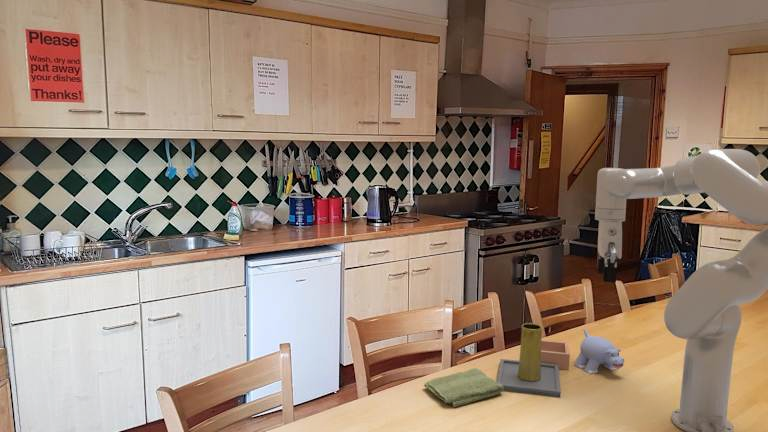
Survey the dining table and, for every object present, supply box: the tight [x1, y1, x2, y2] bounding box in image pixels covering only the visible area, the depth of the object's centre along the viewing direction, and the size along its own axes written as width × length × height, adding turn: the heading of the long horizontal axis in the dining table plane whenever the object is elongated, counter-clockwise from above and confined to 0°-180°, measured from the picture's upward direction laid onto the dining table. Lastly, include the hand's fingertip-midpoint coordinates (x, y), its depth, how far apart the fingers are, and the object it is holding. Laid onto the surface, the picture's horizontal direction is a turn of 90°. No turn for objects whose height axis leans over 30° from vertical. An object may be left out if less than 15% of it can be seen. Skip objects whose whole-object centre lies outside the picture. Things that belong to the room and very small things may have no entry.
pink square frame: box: [541, 339, 570, 371], centre depth 172 cm, size 10×10×4 cm
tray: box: [496, 358, 562, 398], centre depth 159 cm, size 18×16×2 cm
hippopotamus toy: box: [574, 328, 625, 375], centre depth 167 cm, size 11×15×10 cm
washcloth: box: [423, 367, 504, 408], centre depth 151 cm, size 13×18×3 cm
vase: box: [518, 322, 543, 381], centre depth 158 cm, size 6×6×14 cm
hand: (606, 277), depth 158 cm, fingers open, 9 cm apart
